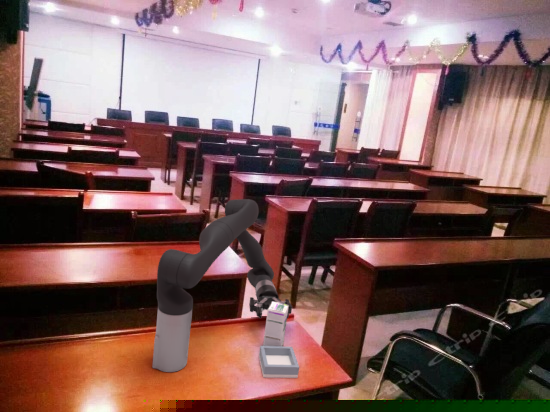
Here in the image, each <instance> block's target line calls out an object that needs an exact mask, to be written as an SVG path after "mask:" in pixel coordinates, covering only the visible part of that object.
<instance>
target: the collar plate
mask: <svg viewBox="0 0 550 412" xmlns="http://www.w3.org/2000/svg"><path fill="white" fill-rule="evenodd" d="M258 352H259V353H258V359H259V364H260V367H261V373H262V377H263V378H272V379H273V378H277V379H278V378H279V379H280V378H282V379H283V378H284V379H298V377H299V372H300V371H299V370H300V366H299V363H298V359H297V356H296V354H295V351H294V348H293V346H284V345H283V346H263V345H259V351H258Z"/></svg>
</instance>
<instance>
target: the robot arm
mask: <svg viewBox="0 0 550 412" xmlns="http://www.w3.org/2000/svg"><path fill="white" fill-rule="evenodd" d="M259 210H260V209H259V205H258V203H257V202H256V201H255V200H253V199H251V198H250V199H249V198H242V199H239V198H238V199H230V200H228V201H227V202H226V204H225V206H224V215H225V216H223V217H220V218H217V219H214V220H213V221H212V222H210V223H209V224H208V225H207V226H206V227H204V229H202V230H201V232H200V233H199V238H198V243H199V248H200V249H199V250H200V251H199V252H197V253H189V252H186V251H183V250H178V249H172V248H169V249H166V250H165V251H164V252H163V253H162V255H161V256H160V258H159V261H158V265H157V276H156V277H157V278H156V299H157V316H156V327H155V333H154V334H155V336H154V343H153V355H152V366H151V367H152V369H156V370H159V371H160V372H165V373H166V372H167V373H175V372H178V371H180V370H182V369H184V368H185V367H186V366H187V364H188V358H189V357H188V356H189V347H190V345H189V344H190V335H191V328H192V327H191V325H192V316H193V307H194V299H193V296H192V295H191V294H190V293H189V292H187V291H186V290H185V289H189V290H190V289H193V288H194V287H195V286H197V285H198V283H200V281H201V280H202V279H203V277H204V276H205V274H206V273H207V272H208V270H209V269H210V268H211V266H212V265H213V264H214V263H215V261H216V260H217V259H218V257H220V256H221V254H223V253H224V251H226V250H227V249H228V248H229V247H230V246H231V244H233V242H234V241H235V240H237V242H238V244H240V246H241V249H242V252H243V254H244V257H245V260H246V263H247V266H248V267H249V268H250V269H249V270H248V272H247V274H246V275H247V281H248V282H249V284H250V285H251V286H252V287H253V288H254V290H255V297H256V299H255V298H254V297H253V296H252V297H251V296H250V297H249V306H248V307H249V312H250V313H254V312H255V315H256V317H257V318H258V319H262V316H263V312H264V311H268V308H269V306H270V304H271V303H272V301H273V302H279V303H283V304H287V305H289V307H288V314H287V319H289V317H290V315H291V314H292V309H293V305H292V304H291V302H290V300H289V299H288V298H285V299H284V300H281V299H280V298H279V294H278V292H277V291H278V290H277V289H276V287H275V285H274V282H273V280H274V276H275V272H274V270H273V268H272V266H271V265H270V264H269V262H268V261H267V259H266V258H265V254H264V252H263V248H262V245H261V244H260V242H259V240H257V239H256V238H255V237H254V236H253V235H252V234H251V233H250V232H249V231H248V229H249V228H250V227H251V226H253V225H254V224H255V223H256V221H257V219H258V216H259V213H260V212H259Z"/></svg>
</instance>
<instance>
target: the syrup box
mask: <svg viewBox="0 0 550 412" xmlns="http://www.w3.org/2000/svg"><path fill="white" fill-rule="evenodd" d="M288 307H289V305H287V304H283V303H279V302H273V301H272V303H271V304H270V306H269V308H268V310H267V312H266V320H265V327H264V333H263V334H264V336H263V342H262V346H284V342H285V341H284V340H285V335H286V334H285V333H286V327H287V323H288V318H287V314H288Z"/></svg>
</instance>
